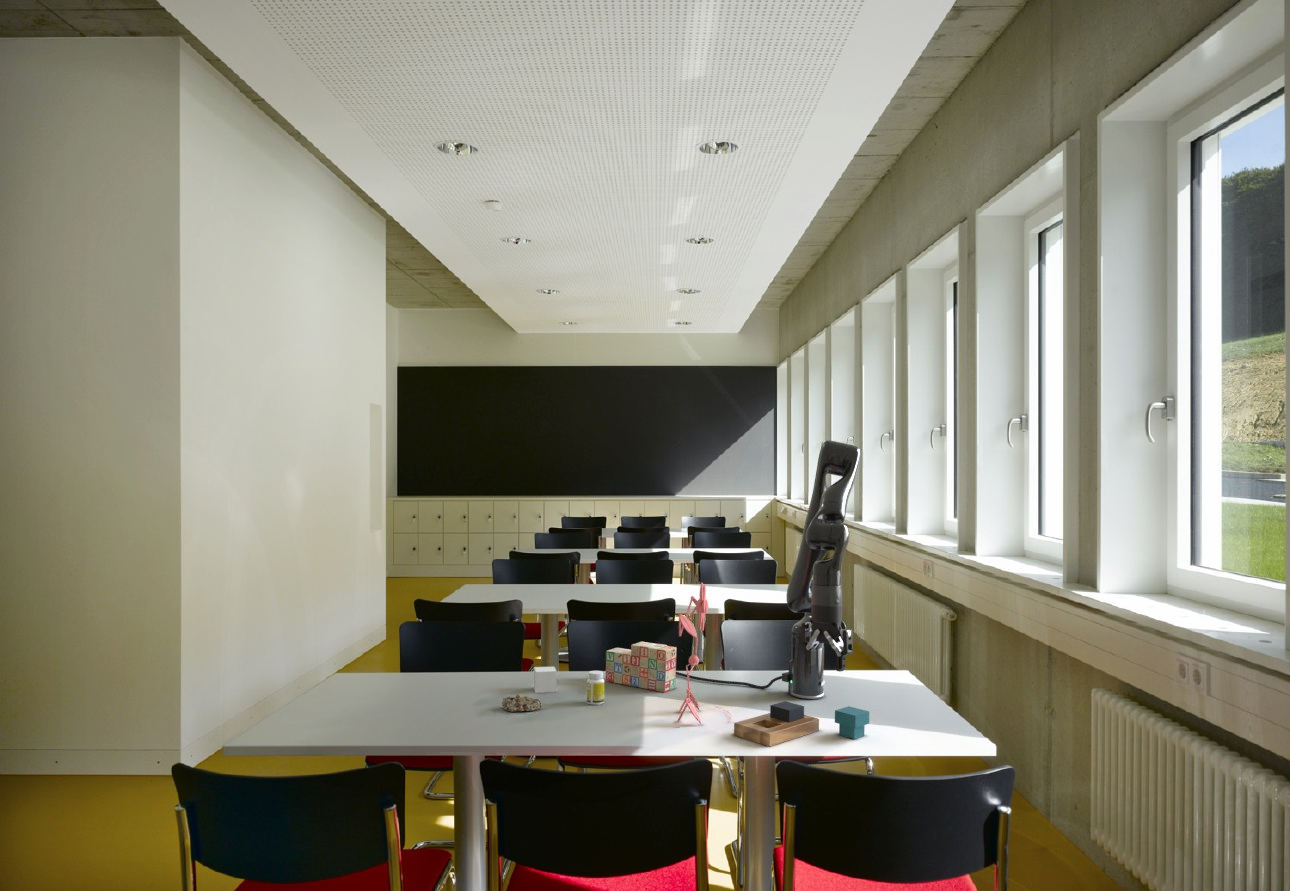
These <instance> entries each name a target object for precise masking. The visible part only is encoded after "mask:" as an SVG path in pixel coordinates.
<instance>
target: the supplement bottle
mask: <svg viewBox="0 0 1290 891" xmlns="http://www.w3.org/2000/svg"><path fill="white" fill-rule="evenodd" d="M604 703H605V679H604V672H603V671H602V670H590V671H588V679H587V680H586V704H588V705H592V706H600V705H603V704H604Z"/></svg>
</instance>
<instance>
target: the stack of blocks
mask: <svg viewBox="0 0 1290 891" xmlns="http://www.w3.org/2000/svg"><path fill="white" fill-rule="evenodd" d="M676 672H677V646H671V645H667V644H664V643H663V644H662V643H653V642H647V641H646V642H645V641H639V642H636V643H632V644H631V645H630V649H629V648H623V647H614V648H611V649H608V650H606V651H605V682H610V683H614V684H620V685H625V686H631V687H635V688H641V689H647V690H649V691H650V690H651V691H655V692H656V691H657V692H661V693H667V692H669V691H672V690H674V689H676V681H677V680H676V679H677V678H676Z"/></svg>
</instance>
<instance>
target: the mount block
mask: <svg viewBox="0 0 1290 891" xmlns="http://www.w3.org/2000/svg"><path fill="white" fill-rule="evenodd" d="M819 731H820V718H818V717H814V716H810V715H807V714H804V718H803V719H799V720H796V721H793V722H790V723H789V722H785V721H782V720H778V719H775V718H772V717H770V712H768V713H765V714H760V715H758V716H753V717H751V718H746V719H742V720H740V721H736V722H735V721H734V722H733V735H734V736H736V737H739V738H742V739H744V740H748V741H751V742H754V743H757V744H760V745H764V746H766V747H772V746H776V745H779V744H782V743H785V742H788V741H791V740H794V739H798V738H801V737H803V736H806V735H809V734H813V733H816V732H819Z"/></svg>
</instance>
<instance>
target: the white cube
mask: <svg viewBox="0 0 1290 891" xmlns="http://www.w3.org/2000/svg"><path fill="white" fill-rule="evenodd" d="M557 673H558V672H557V668H556V667H555V666H534V667H533V690H534V693H535V694H541V693H542V694H543V693H545V694H546V693H557V676H558V675H557Z"/></svg>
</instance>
